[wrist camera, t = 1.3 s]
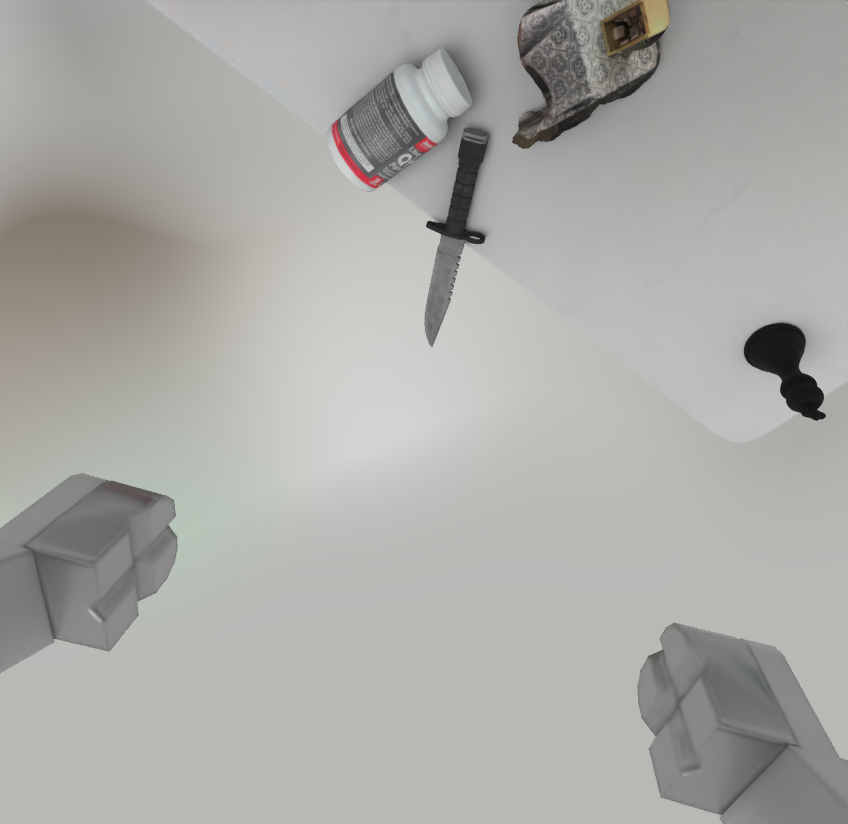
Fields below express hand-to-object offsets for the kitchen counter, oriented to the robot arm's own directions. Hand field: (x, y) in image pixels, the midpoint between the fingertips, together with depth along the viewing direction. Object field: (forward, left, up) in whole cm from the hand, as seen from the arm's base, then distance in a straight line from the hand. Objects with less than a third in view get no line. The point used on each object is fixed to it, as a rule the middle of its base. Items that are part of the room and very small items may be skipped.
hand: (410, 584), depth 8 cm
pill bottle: (-6, -12, -36) cm, 38 cm away
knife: (+3, -12, -38) cm, 40 cm away
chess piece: (+26, +10, -38) cm, 47 cm away
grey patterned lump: (-2, +4, -38) cm, 39 cm away
